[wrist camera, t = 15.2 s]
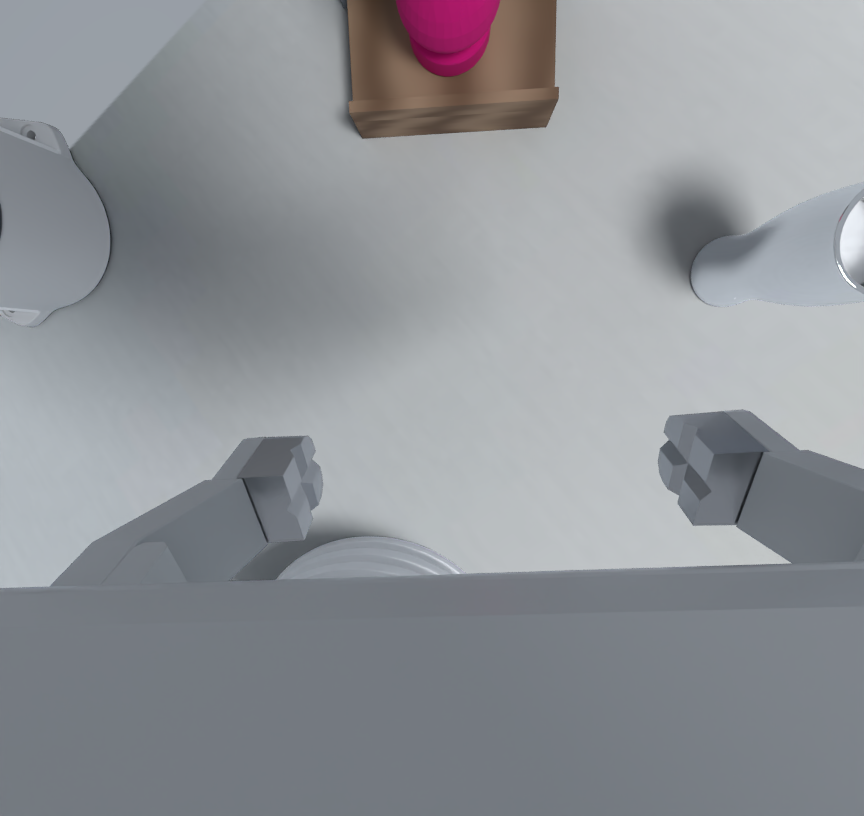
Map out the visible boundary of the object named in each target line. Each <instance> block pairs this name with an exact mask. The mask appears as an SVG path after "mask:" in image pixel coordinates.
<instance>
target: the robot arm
mask: <svg viewBox="0 0 864 816" xmlns="http://www.w3.org/2000/svg"><path fill="white" fill-rule="evenodd" d="M35 136H36V139H35ZM109 253H110V229H109V223H108V219H107V215H106V212H105V209H104V206H103V204H102V202H101V200H100V198H99V196H98V194H97V192H96V190H95V189H94V187H93V186H92V184H91V183H90V182H89V180H88V179H87V178H86V177H85V176H84V174H83V173H82V172H81V171H80V170H79V168H78V167H77V166H76V164H75V163H74V161H73V159H72V156H71V153H70V151H69V148H68V145H67V143H66V141H65V139H64V137H63V135H62V134H61V132H60V131H59V130H58V129H57V128H55V127H53V126H50V125H48V124H45V123H42V122H34V121H25V120H15V119H7V118H0V315H1V316H3V317H5V318H6V319H8V320H10V321H12V322H14V323H15V324H17V325H20V326H27V327H35V326H37V325H39V324H40V323H42V322H43V321H44V320H45V319H46V318H47V317H48V316H49V315H50V314H51V313H52V312H53V311H54V310H56V309H59V308H62V307H65V306H68V305H71V304H74V303H76V302H78V301H80V300H81V299H83V298H84V297H86V296H87V295H88V294H89V293H90V292H91V291H92V290H93V289H94V288H95V287H96V286H97V284H98V283H99V281H100V280H101V278H102V276H103V274H104V272H105V269H106V266H107V263H108V259H109ZM664 433H665V435H666V436H667V438H668V439H669V440H668V441H667V442H666V443H665V444H664V445H663V446H662V447H661V448H660V452H659V458H658V466H659V473H660V476H661V479H662V481H663V483H664V484H665V486H666V487H667V489H668V490H670V491H672V492H674V493H676V494H677V495H679V499H678V505H679V506H680V508H681V509H682V510H683V512H684V513H685V515H686V516H687V518H688V519H689V520H690V522H691V523H692V525H693V526H697V525H737V526H736V527H737V528H739V529H740V530H742V531H743V532H745V533H747V534H748V535H750V536H751V537H753V538H754V539H756V540H757V541H759V542H760V543H762V544H763V545H765V546H766V547H768V548H769V549H771V550H772V551H774V552H776V553H777V554H779V555H780V556H782V557H783V558H785V559H786V560H788V561H789V562H791V563H792V564H762V565H729V566H697V567H664V568H631V569H599V570H567V571H537V572H506V573H475V574H443V575H411V576H378V577H346V578H313V579H281V580H249V581H229V580H230V579H231V578H233V577H234V576H235V575H236V574H237V573H238V572H239V571H240V570H241V569H242V568H243V567H244V566H245V565H246V564H248V563H249V562H250V561H251V560H252V559H253V558H254V557H255V556H256V555H257V554H258V553H259V552H260V551H261V550H262V549H264V548H265V547H266V546H267V543H272V542H287V541H302V540H305V538H306V535H307V533H308V530H309V528H310V525H311V523H312V520H313V516H312V513H311V510H312V509H314V508H315V507H316V506H318V505H319V502H320V499H321V497H322V489H323V479H322V472H321V468H320V466H319V465H318V464H317V463H316V462H315V461H313V460H312V458H313V456H314V454H315V451H316V450H315V447H314V444H313V441H312V439H311V438H310V437H309V436H283V437H258V438H247V439H244V440H242V442H241V443H240V444H239V445H238V447H237V448H236V449H235V451H234V452H233V453H232V454H231V456H230V457H229V458H228V460H227V461H226V462H225V463H224V465H223V466H222V467H221V469H220V470H219V471H218V472H217V474H216V475H215V476H214V478H213V479H212V480H205V481H203V482H201V483H199V484H197V485H196V486H194V487H192V488H190V489H188V490H186V491H185V492H183V493H181V494H179V495H177V496H176V497H174V498H172V499H170V500H168V501H167V502H165V503H163V504H161V505H159V506H157V507H156V508H154V509H152V510H150V511H148V512H147V513H145V514H143V515H141V516H139V517H138V518H136V519H134V520H132V521H130V522H128V523H127V524H125V525H123V526H121V527H119V528H118V529H116V530H114V531H112V532H110V533H109V534H107V535H105V536H103V537H101V538H100V539H98V540H96V541H94V542H92V543H91V544H90V545H89V546H88V547H87V548H86V549H85V550H84V551H83V552H82V553H81V555H80V556H79V557H78V558H77V559H76V560H75V561H74V562H73V563H72V564H71V565H70V566H69V567H68V568H67V569H66V570H65V571H64V572H63V573H62V574H61V575H60V576H59V577H58V578H57V579H56V580H55V581H54V582H53V583H52V585H51V586H50V587H22V588H0V816H864V469H861V468H858V467H856V466H853V465H850V464H847V463H844V462H841V461H838V460H835V459H832V458H829V457H827V456H824V455H821V454H818V453H815V452H812V451H809V450H801V451H800V450H799V449H797V448H796V447H795V446H793V445H792V444H791V443H790V442H788V441H787V440H786V439H785V438H783V437H782V436H781V435H779V434H778V433H777V432H776V431H774V430H773V429H772V428H771V427H769V426H768V425H767V424H765V423H764V422H763V421H762V420H760V419H759V418H758V417H756V416H755V415H754V414H753V413H751V412H750V411H747V410H743V409H742V410H731V411H720V412H709V413H697V414H685V415H673V416H669V418H668V420H667V421H666V424H665V428H664Z"/></svg>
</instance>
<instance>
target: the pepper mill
mask: <svg viewBox="0 0 864 816" xmlns="http://www.w3.org/2000/svg"><path fill="white" fill-rule="evenodd" d="M396 4H397V9H398V13H399V15H400V18H401V20H402V23H403V25H404V27H405V28H406V30H407V32H408V33H409V38H410V43H411V47H412V50H413V52H414V55H415V56H416V58H417V60H418V61H419V62H420V63H421V65H422V66H423V67H424V68H425V69H427V70H428V71H430V72H431V73H434V74H436V75H439V76H444V77H451V76H456V75H460V74H462V73H464V72H466V71H468V70H470V69H471V68H472V67H473V66H475V64H476V63H477V62H478V61H479V60H480V59H481V57H482V56H483V54H484V52H485V50H486V47H487V44H488V41H489V37H490V29H491V24H492V22H493V21H494V19H495V16H496V13H497V11H498V8H499V4H500V0H396Z"/></svg>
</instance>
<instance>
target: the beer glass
mask: <svg viewBox="0 0 864 816" xmlns="http://www.w3.org/2000/svg"><path fill="white" fill-rule="evenodd" d="M691 284H692V287H693V290H694V292H695V293H696V295H697V296H698V297H699V298H700V299H701V300H702V301H703V302H705V303H707V304H709V305H712V306H716V307H728V306H733V305H737V304H740V303H742V302H745V301H748V300H759V301H765V302H770V303H777V304H783V305H792V306H804V307H809V306H833V305H844V304H852V303H859V302H864V182H861V183H857V184H854V185H850V186H846V187H843V188H840V189H837V190H834V191H831V192H828V193H825V194H822V195H819V196H817V197H814V198H812V199H809V200H807V201H805V202H802V203H800V204H798V205H796V206H794V207H792V208H790V209H788V210H786V211H784V212H783V213H781V214H779V215H777V216H776V217H774V218H772V219H771V220H769V221H767V222H766V223H764V224H763V225H761V226H759V227H758V228H756V229H754V230H753V231H751V232H749V233H747V234H744V235H728V236H723V237H720V238H717V239H715V240H713V241H711V242H710V243H708V244H707V245H706V246H704V247H703V248H702V249H701V251H700V252H699V253H698V254H697V256H696V258H695V260H694V262H693V264H692V268H691Z"/></svg>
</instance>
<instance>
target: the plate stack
mask: <svg viewBox="0 0 864 816" xmlns="http://www.w3.org/2000/svg"><path fill="white" fill-rule="evenodd" d="M443 574H467V573H466V572H464V571H463V570H462V569H461V568H460V567H458V566H457V565H456V564H454V563H453V562H452V561H450V560H449V559H447V558H446V557H444V556H442V555H441V554H439V553H437V552H435V551H433V550H431V549H429V548H426V547H424V546H421V545H418V544H416V543H412V542H409V541H405V540H401V539H396V538H390V537H381V536H360V537H351V538H345V539H340V540H336V541H333V542H329V543H327V544H324V545H321V546H319V547H317V548H315V549H312V550H311V551H309V552H307V553H305V554H304V555H302V556H301V557H299V558H298V559H296V560H295V561H294V562H292V563H291V564H290V565H289V566H288V567H287V568H286V569H285V570H284V571H283V572H282V573H281V574H280V575H279V576H278V577H277V579H276V580H281V579H313V578H346V577H378V576H411V575H443Z"/></svg>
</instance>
